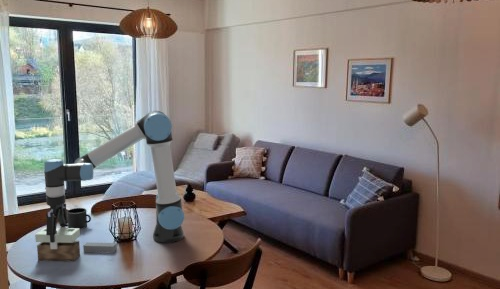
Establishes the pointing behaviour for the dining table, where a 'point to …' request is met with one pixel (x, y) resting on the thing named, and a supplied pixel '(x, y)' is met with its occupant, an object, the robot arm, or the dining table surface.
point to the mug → (77, 218)
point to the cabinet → (58, 251)
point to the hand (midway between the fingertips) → (58, 244)
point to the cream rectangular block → (59, 235)
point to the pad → (100, 247)
